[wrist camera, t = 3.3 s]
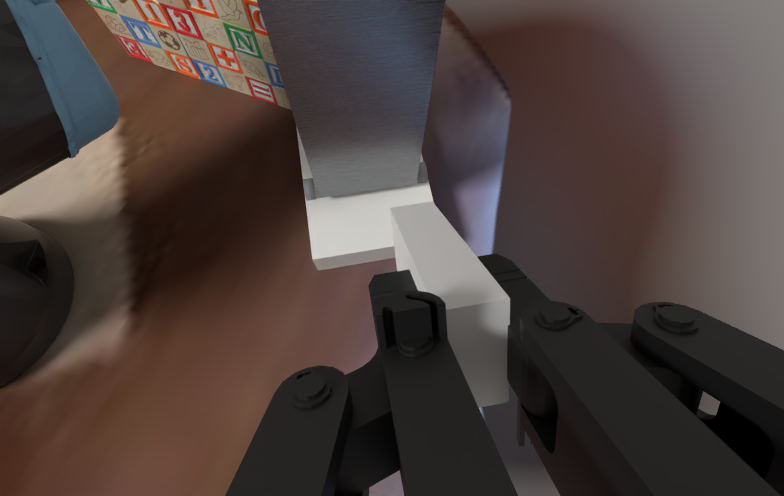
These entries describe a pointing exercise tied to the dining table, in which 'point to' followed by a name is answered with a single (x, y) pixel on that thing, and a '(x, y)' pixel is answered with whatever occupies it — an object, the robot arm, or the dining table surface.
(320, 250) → the white slotted base
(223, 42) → the stack of blocks
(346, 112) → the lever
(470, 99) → the dining table surface
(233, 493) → the robot arm
